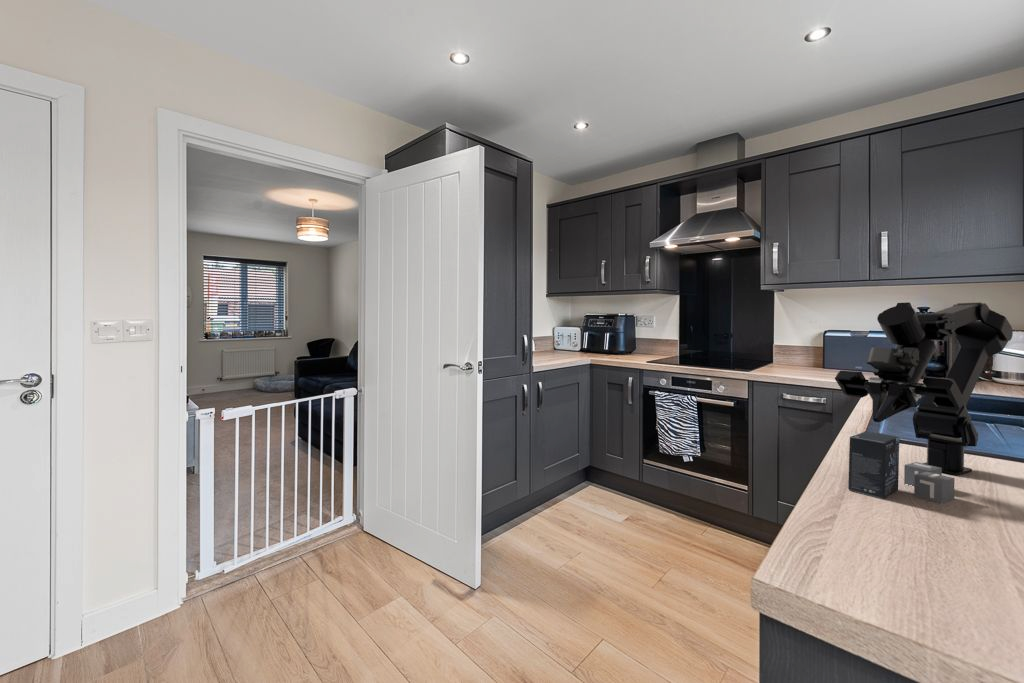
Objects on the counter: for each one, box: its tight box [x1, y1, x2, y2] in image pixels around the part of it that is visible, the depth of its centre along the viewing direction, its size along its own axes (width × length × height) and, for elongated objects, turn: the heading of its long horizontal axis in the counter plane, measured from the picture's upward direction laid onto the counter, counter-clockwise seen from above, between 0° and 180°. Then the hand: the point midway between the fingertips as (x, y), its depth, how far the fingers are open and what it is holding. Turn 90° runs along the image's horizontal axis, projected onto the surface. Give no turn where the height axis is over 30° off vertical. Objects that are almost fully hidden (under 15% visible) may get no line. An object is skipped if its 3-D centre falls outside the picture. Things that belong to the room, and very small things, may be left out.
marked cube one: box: [903, 462, 943, 487], centre depth 86 cm, size 4×4×4 cm
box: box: [847, 430, 901, 500], centre depth 84 cm, size 8×6×11 cm
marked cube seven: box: [913, 472, 955, 504], centre depth 80 cm, size 4×4×4 cm
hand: (875, 420), depth 84 cm, fingers closed
